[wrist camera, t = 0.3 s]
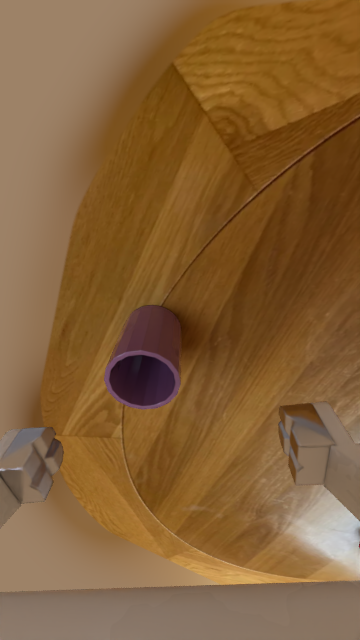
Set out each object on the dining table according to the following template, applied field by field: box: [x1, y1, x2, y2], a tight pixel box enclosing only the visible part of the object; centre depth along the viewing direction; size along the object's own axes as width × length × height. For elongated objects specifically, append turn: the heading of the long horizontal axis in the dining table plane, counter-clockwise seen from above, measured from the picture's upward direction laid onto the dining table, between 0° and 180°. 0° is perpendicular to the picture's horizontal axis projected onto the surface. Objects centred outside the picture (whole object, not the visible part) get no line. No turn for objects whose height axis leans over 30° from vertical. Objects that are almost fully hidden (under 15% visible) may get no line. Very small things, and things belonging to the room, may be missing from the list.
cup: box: [104, 305, 182, 409], centre depth 28 cm, size 7×7×9 cm
